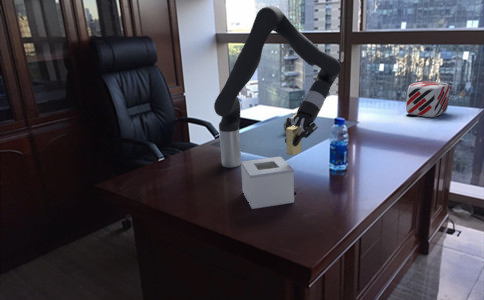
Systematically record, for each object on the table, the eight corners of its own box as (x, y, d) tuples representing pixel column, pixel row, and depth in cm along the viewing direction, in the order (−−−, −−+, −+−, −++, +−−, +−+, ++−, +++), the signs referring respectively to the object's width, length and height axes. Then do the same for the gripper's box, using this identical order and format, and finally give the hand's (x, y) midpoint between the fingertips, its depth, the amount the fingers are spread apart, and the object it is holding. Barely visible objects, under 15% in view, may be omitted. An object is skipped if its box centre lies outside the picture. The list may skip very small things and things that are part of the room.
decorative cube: (418, 109, 269) (421, 79, 263) (449, 113, 255) (452, 82, 248) (403, 114, 258) (405, 83, 251) (433, 119, 243) (437, 86, 236)
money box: (242, 192, 158) (240, 161, 154) (281, 186, 162) (280, 156, 157) (252, 208, 144) (250, 175, 140) (294, 202, 148) (293, 169, 143)
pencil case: (297, 135, 227) (297, 118, 224) (283, 134, 230) (282, 118, 227) (306, 125, 246) (306, 110, 243) (292, 124, 250) (292, 109, 246)
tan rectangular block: (286, 153, 150) (286, 128, 146) (295, 150, 153) (294, 125, 150) (292, 155, 148) (292, 129, 144) (301, 151, 151) (301, 126, 147)
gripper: (292, 97, 154) (271, 135, 150) (322, 102, 144) (300, 143, 140) (300, 108, 159) (280, 145, 155) (330, 114, 149) (309, 153, 145)
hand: (290, 144), depth 148 cm, fingers closed on tan rectangular block, 3 cm apart
